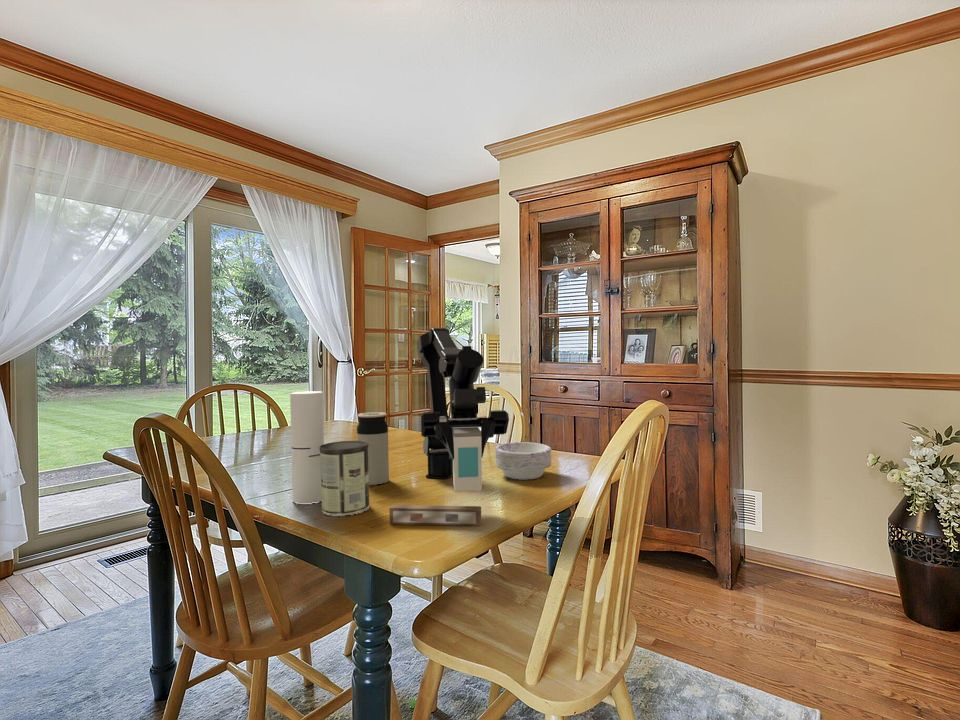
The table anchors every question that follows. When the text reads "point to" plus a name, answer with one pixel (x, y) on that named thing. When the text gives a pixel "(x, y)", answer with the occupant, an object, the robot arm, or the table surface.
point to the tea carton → (467, 459)
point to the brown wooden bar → (435, 515)
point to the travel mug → (375, 445)
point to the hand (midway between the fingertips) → (467, 457)
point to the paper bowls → (523, 459)
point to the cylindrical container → (306, 445)
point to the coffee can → (344, 477)
